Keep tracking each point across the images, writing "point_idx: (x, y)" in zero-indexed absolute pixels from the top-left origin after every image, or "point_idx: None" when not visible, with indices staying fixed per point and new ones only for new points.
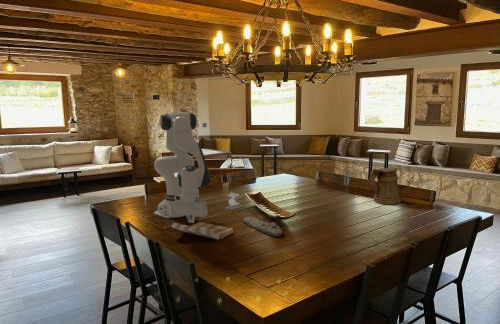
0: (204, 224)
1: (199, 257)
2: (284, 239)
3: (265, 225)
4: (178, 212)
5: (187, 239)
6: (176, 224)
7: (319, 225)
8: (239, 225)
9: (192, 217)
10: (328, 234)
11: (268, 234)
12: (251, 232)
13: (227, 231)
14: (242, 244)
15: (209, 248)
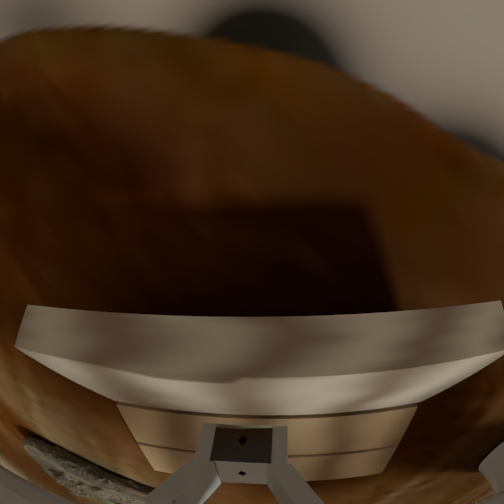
0: (333, 469)
1: (3, 93)
2: (9, 422)
3: (89, 486)
4: (494, 497)
5: (314, 294)
6: (464, 345)
7: (60, 491)
8: (210, 496)
9: (173, 494)
10: (7, 452)
11: (55, 447)
12: (112, 460)
13: (139, 445)
14: (17, 358)
15: (49, 240)
